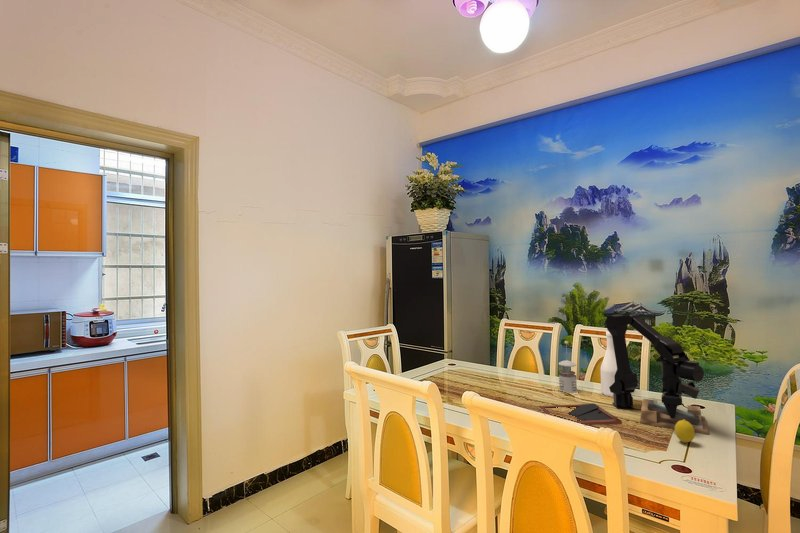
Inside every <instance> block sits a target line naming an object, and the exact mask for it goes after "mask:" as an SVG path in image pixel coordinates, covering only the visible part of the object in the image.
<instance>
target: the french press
mask: <svg viewBox="0 0 800 533" xmlns="http://www.w3.org/2000/svg"><path fill="white" fill-rule="evenodd" d="M564 344H565V346H566V353H568V344H569V341H567V340H565V341H564ZM558 365H559V366H560V367H565V369H564V370H560V371H559V373H560V374H558V378H559V379H558V382H559V384H558V386H559V389H560V390H561V391H563V392H567V393H577V392H579V391H578V385H577V375H576V372H575V371H574V370H570V368H572V367H573V368H574V367H576V366H577V364H576V363H575V362H573V361H571V360H568V359H565V360H561V361H559V362H558ZM559 389H558V390H559Z"/></svg>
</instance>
